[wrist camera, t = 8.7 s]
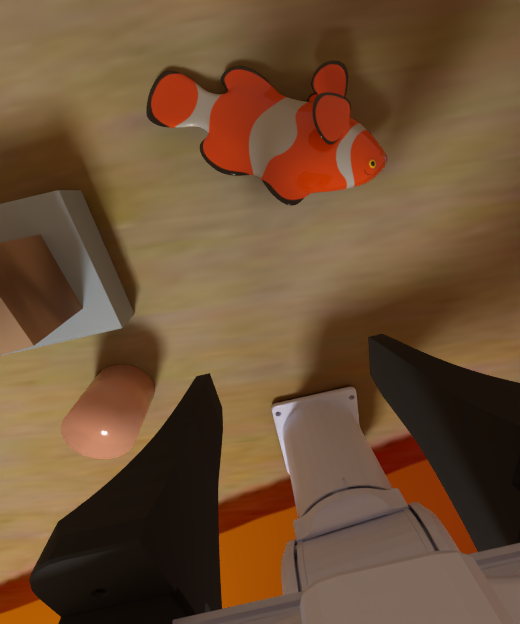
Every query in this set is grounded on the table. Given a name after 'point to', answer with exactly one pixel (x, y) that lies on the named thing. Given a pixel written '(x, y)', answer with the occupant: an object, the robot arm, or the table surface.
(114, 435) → the terracotta cylinder
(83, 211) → the slate slab
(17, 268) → the walnut cube
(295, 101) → the fish
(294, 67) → the table surface
